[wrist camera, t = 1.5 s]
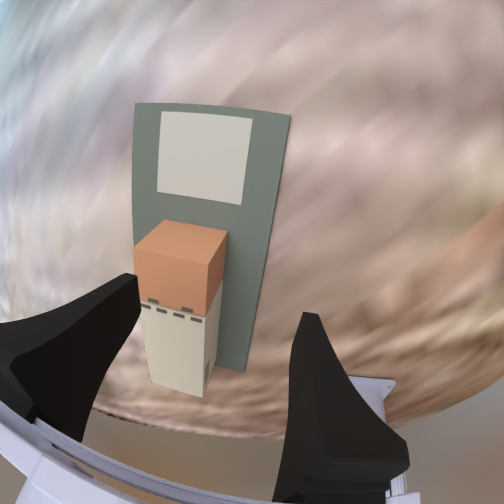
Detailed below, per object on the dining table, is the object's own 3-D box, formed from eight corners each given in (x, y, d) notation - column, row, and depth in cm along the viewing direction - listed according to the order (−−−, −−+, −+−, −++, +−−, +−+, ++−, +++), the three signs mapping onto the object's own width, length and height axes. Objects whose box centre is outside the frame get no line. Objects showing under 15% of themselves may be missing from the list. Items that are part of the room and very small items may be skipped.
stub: (223, 276, 23) (205, 316, 18) (165, 264, 23) (137, 298, 19) (227, 231, 21) (207, 265, 16) (164, 219, 21) (132, 248, 17)
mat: (244, 369, 28) (243, 372, 28) (146, 343, 29) (145, 345, 29) (290, 115, 17) (290, 115, 16) (137, 103, 18) (134, 103, 17)
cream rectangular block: (216, 359, 28) (202, 398, 23) (169, 346, 28) (151, 382, 24) (223, 279, 23) (205, 320, 19) (165, 266, 23) (137, 302, 19)
